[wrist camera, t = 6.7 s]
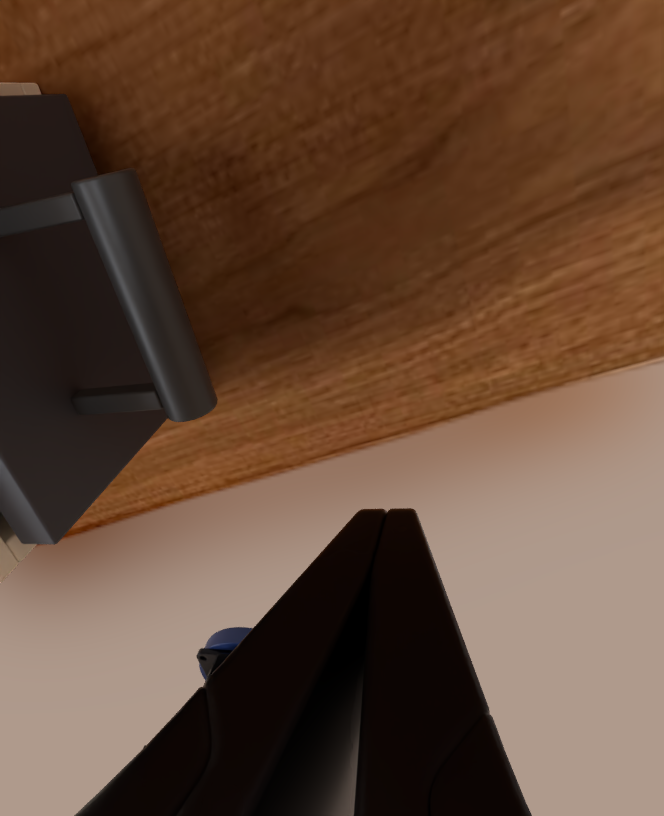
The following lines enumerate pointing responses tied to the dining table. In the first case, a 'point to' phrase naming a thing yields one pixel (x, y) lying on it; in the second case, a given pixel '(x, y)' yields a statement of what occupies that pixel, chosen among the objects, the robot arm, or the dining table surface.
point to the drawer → (80, 323)
